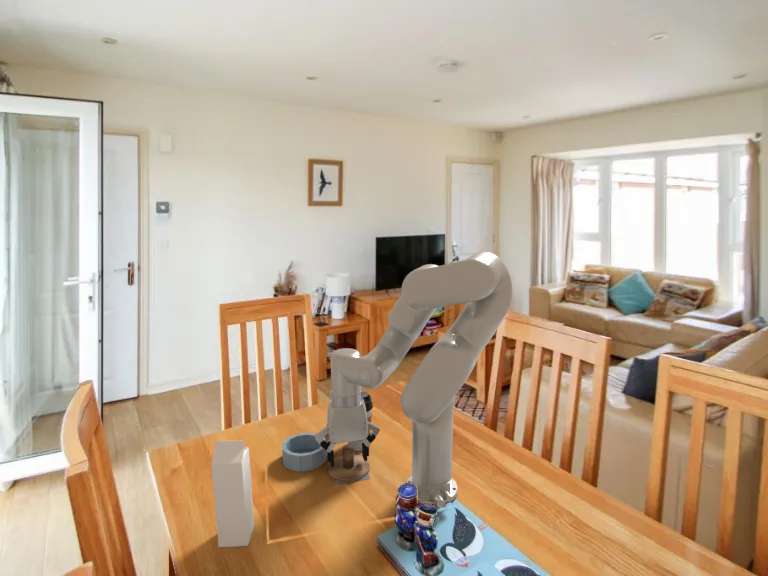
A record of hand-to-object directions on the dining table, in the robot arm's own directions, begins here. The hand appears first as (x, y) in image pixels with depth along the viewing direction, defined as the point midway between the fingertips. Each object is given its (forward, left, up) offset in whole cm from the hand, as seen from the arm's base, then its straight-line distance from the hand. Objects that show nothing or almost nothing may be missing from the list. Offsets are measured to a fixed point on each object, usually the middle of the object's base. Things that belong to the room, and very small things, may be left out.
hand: (348, 460), depth 120 cm
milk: (-17, +27, -3) cm, 32 cm away
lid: (0, 0, -2) cm, 2 cm away
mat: (0, 0, -3) cm, 3 cm away
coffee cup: (+11, -5, -3) cm, 12 cm away
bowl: (+8, +10, -3) cm, 14 cm away
